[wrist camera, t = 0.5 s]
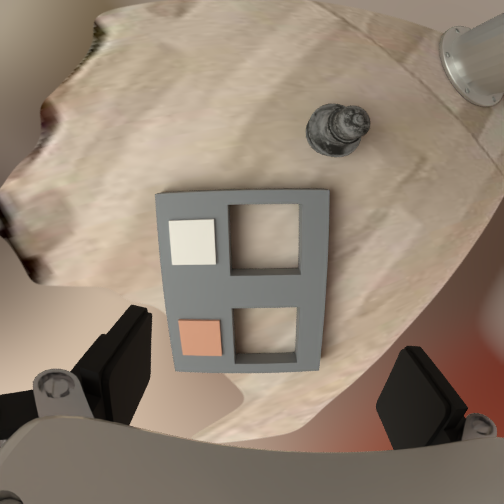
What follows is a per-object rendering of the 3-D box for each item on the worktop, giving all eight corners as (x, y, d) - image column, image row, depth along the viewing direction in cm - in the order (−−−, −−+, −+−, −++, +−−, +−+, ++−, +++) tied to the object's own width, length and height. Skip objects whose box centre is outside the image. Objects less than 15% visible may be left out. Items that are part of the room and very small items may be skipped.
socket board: (324, 188, 36) (330, 190, 33) (315, 360, 41) (319, 372, 39) (161, 192, 36) (154, 194, 33) (179, 361, 42) (174, 373, 39)
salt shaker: (337, 101, 33) (372, 74, 21) (360, 145, 34) (405, 137, 23) (293, 122, 34) (312, 99, 22) (318, 166, 35) (348, 166, 23)
